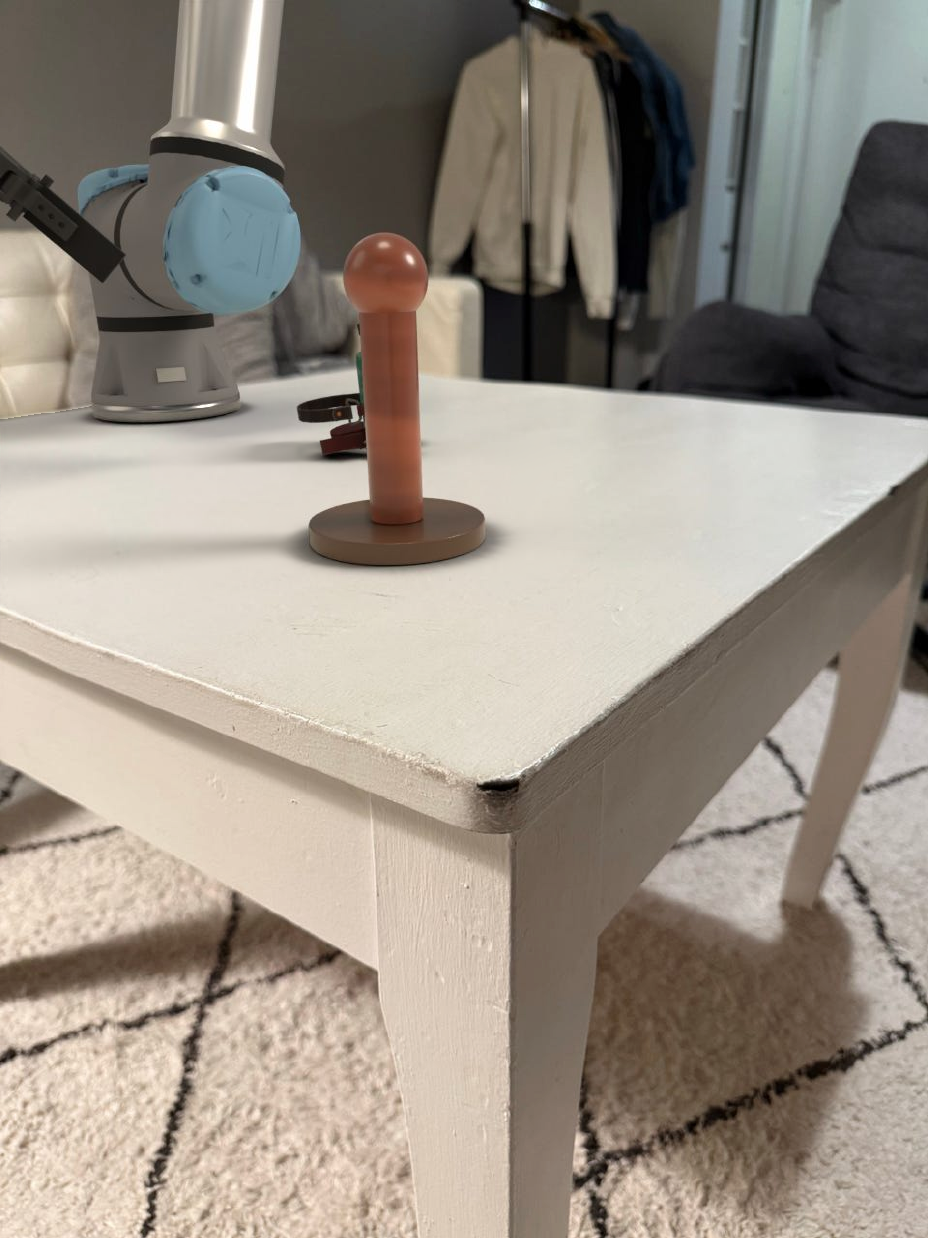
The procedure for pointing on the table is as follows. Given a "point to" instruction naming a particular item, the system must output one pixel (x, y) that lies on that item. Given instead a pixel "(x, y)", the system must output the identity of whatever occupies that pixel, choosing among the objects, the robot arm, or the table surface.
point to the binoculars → (339, 416)
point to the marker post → (392, 424)
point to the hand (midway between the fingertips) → (114, 268)
